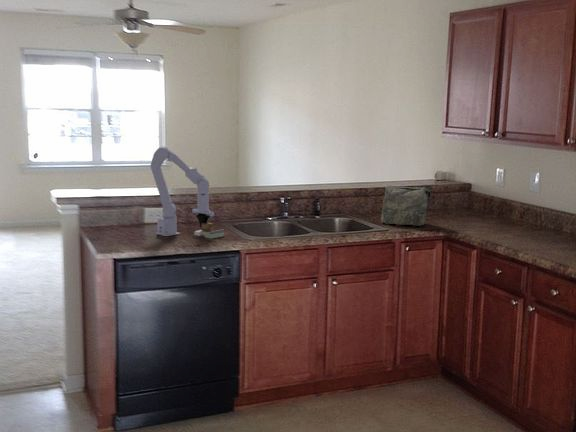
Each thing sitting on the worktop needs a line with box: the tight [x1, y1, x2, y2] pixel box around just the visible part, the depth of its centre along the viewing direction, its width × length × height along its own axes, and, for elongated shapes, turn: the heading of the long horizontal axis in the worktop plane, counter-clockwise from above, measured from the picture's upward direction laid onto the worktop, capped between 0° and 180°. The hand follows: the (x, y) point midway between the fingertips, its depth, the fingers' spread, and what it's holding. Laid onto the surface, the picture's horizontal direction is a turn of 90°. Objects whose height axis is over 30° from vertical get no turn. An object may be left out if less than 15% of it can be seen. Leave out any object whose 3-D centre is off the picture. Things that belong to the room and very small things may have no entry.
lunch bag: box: [380, 185, 431, 227], centre depth 384 cm, size 26×18×22 cm
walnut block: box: [201, 222, 214, 232], centre depth 336 cm, size 4×4×4 cm
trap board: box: [194, 228, 225, 240], centre depth 336 cm, size 9×12×4 cm
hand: (202, 228), depth 339 cm, fingers closed
